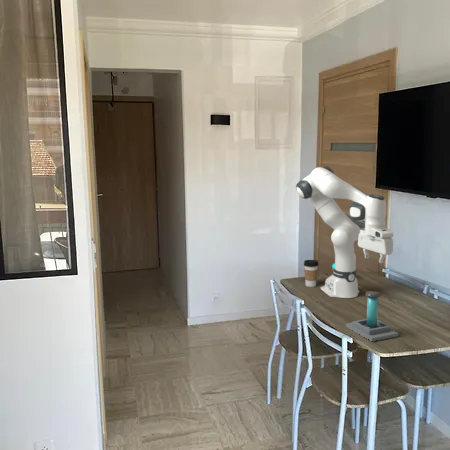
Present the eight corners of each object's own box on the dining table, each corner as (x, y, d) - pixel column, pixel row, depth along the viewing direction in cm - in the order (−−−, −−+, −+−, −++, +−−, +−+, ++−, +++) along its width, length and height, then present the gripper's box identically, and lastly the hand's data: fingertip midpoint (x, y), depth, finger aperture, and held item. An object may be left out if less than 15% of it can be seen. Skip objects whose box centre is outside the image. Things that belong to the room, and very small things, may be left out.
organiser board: (345, 326, 213) (346, 319, 212) (371, 322, 218) (371, 314, 217) (371, 341, 196) (371, 333, 196) (398, 336, 201) (398, 328, 201)
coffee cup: (314, 288, 270) (315, 263, 268) (301, 286, 274) (301, 261, 272) (320, 284, 277) (320, 259, 275) (306, 282, 281) (307, 258, 279)
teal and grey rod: (361, 326, 209) (362, 292, 206) (372, 324, 211) (374, 290, 208) (370, 331, 203) (371, 296, 200) (381, 329, 205) (383, 294, 202)
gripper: (354, 227, 220) (354, 256, 223) (384, 235, 202) (383, 266, 204) (366, 226, 223) (365, 255, 225) (396, 233, 204) (394, 264, 206)
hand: (373, 260), depth 214 cm, fingers open, 8 cm apart
